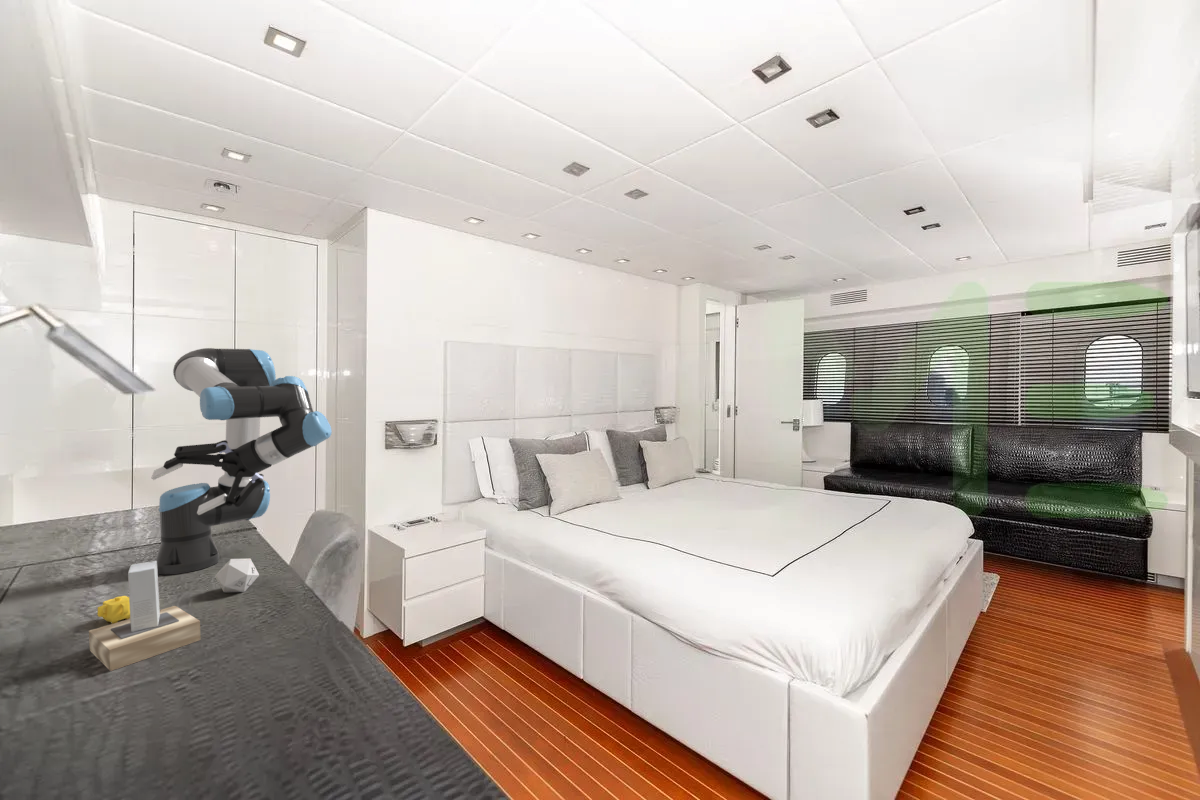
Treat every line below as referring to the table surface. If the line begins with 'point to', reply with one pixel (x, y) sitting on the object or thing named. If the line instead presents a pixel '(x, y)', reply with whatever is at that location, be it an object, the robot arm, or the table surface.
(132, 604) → the skincare box
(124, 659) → the plinth
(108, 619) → the teapot
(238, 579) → the die
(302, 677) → the table surface
